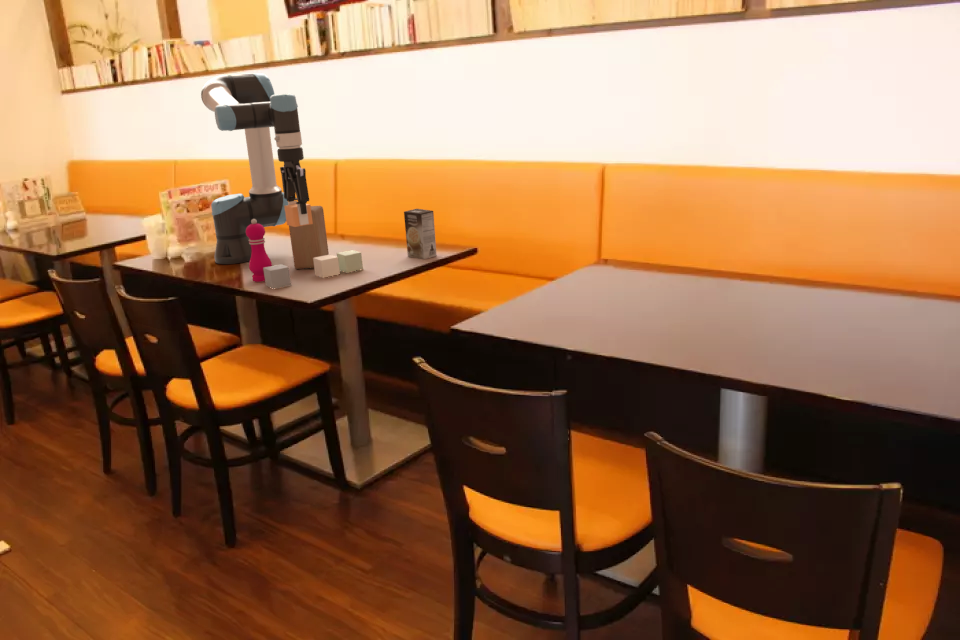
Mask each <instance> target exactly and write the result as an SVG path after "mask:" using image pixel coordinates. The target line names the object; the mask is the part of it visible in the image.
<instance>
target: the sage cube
mask: <svg viewBox="0 0 960 640" xmlns="http://www.w3.org/2000/svg"><path fill="white" fill-rule="evenodd" d="M336 257H338V261H339V270H341V271H340V272H342V271H344V272H343V273H345V272H347V273H346V274H349V273H348V272H351V271H355V272H357V271H356V270H360V269H363V270H364V265H363V257H362V252H361V251H357V250H354V249H351V250H346V251H340V252H336ZM360 271H361V270H360ZM351 273H352V272H351Z"/></svg>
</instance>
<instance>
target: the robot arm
mask: <svg viewBox="0 0 960 640" xmlns="http://www.w3.org/2000/svg"><path fill="white" fill-rule="evenodd" d="M200 98H201V101H202V103H203V104H204V106H205V107H206V109H208V110H209V111H211V112H214V119H215V124H216V126H217V129H218V130H219V131H223V132H224V131H226V132H227V131H228V132H233V131H238V130H239V131H240V130H244V134H245V135H244V136H245V142H246V147H247V155H248V162H249V163H248V164H249V172H250V178H251V185H252V186H251V188H250V189H249V190H248V194H249V195H248V196H245V195H244V194H243V193H233V194H228V195H223V196H220V197H218V198H216V199H214V200H213V201H211V204H210V205H211V206H210V207H211V216H212V219H213V226H214V231H215V236H216V238H215V239H216V245H215V250H214V261H215V263H216V264H219V265H235V264H241V263H242V264H243V263H246V262H250V259H251V253H252V249H251V244H249V237H247V235H246V228H247V227H248V226H249V225H250V224H252V223H251V220H252V219H256V220H257V224H261V225H262V226H263V227H264V228H268V227H277V226H280V225H284V224H285V223H287V222H286V214H285V207H284V206H286V205H293V204H297V209H298V216H299V223H300V225H305V224H309V221H308V213H307V206H306V204H308V203H307V202H310V196H309V195H310V194H309V188H308V183H307V177H306V176H307V175H306V172H307V171H306V168H304V167H303V168H302V167H301V163H300V161H302V160H304V159H305V158H304V149H303V147H301V146H302V145H303V141H302V140H303V139H302V133H301V127H300V126H301V125H300V119H299V111H298V107H299V106H298V103H297V99H296V96H295V94H293V93H287V94H286V93H285V94H284V93H283V94H275V91H274V86H273V84H272V82H271V79H270V77H268V75H267V74H266V73H262V72H261V73H259V72H256V73H255V72H251V73H240V74H222V75H217V76H215V77H213V78H211V79H209V80H208V81H206V83H205V84H204V85H203V86H202V88H201V93H200ZM270 128H274V130H273V131H274V136H275V137H274V141H276V142H275V143H276V147H277V148H278V149H277V151H276V152H277V158H278V161H279V162H283V166H280V167H279V171H280V173H281V182H282V183H281V184H282V188H281V187H280V186H279V185H278V184H277V176H276V170H275V162H274V154H273V145H272V138H271V131H270Z"/></svg>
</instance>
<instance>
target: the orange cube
mask: <svg viewBox="0 0 960 640" xmlns="http://www.w3.org/2000/svg"><path fill="white" fill-rule="evenodd" d="M306 206H307V213H308V221H309V224H305V225H310V224H313V221H312V213H311V206H312V205H311V204H309V203H306ZM284 207H285V214H286V222H285V223H286V225H287V226H288V227H289V226H293V227H298V226H304V225H300V223H299V216H298V209H297V204H293V205H286V206H284Z"/></svg>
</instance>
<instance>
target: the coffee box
mask: <svg viewBox="0 0 960 640" xmlns="http://www.w3.org/2000/svg"><path fill="white" fill-rule="evenodd" d="M434 213H435V212H434V210H429V209H421V208H414V209H409V210H406V211H403V215H404V216H403V217H404V218H403V219H404V229H405V241H406V249H407V250H406V252H407V253H406V254H407V257H410V258H416V259H419V260H420V259H421V260H427V259H430V258H433V257H437V244H436V229H435V227H436V226H435V217H434V216H435V214H434Z"/></svg>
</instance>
